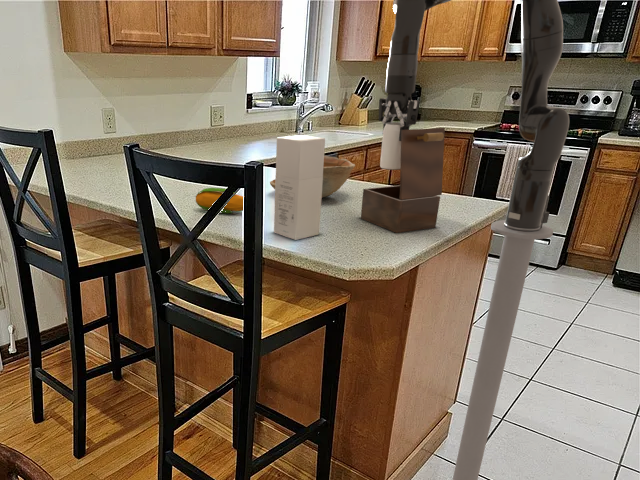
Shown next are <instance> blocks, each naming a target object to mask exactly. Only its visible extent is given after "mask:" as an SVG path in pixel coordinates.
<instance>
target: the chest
mask: <svg viewBox="0 0 640 480" xmlns="http://www.w3.org/2000/svg"><path fill="white" fill-rule="evenodd" d="M440 199H441V195H437V196H428V197H419V198H410V199H400V184H398V185H387V186H379V187H368V188H363V190H362V201H361V209H360V219H361V220H364V221H366V222H368V223H371V224H373V225H376V226H378V227H380V228H383V229H385V230H388V231H391V232H393V233H395V234H401V233H406V232H415V231H420V230H429V229H434V228H437V227H436V226H437V220H438V216H439V209H440V201H441V200H440Z"/></svg>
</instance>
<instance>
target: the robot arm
mask: <svg viewBox="0 0 640 480" xmlns="http://www.w3.org/2000/svg"><path fill="white" fill-rule="evenodd" d="M451 1H452V0H393V2H392V7H393V8H392V9H393V12H394V14H395V20H394V29H393V31H392V34H391V39H390V47H389V57H388V62H387V68H386V79H385V90H384V92H385V93H386V94H387V96H386V97H384V98H383V97H382V98H381V97H380V98H379V101H378V121H379V122H381V123H382V125H383V126H382V131H383V130H384V127H385V125H386V123H388V122H394V119H395V117H397V119H398V120H399V122H400V123H401V126H402V127H400V136H399V141H401V130H410V127H411V126H415V125H416V124H417V121H418V114H419V108H420V100H416V99H415V100H413V99H412V94H414V93H415V91H416V83H417V74H418V65H419V58H418V56H419V55H418V54H419V48H420V39H421V37H420V35H421V29H422V25H423V21H424V16H425V13H426V12H427V11H428V10H430V9H432V8H434V7H436V6H438V5H442V4H446V3H449V2H451ZM520 11H521V13H520V14H521V15H520V17H521V21H520V23H521V24H520V25H521V31H520V49H521V50H520V53H521V93H520V94H521V95H520V104H519V105H520V106H519V118H518V129H519V134H520V136H521V137H522V138H523V139H524V140H527V141H529V142H533V144H532V147H531V149H530V151H529V152H528V153H526V154H522V155H520V156H519V157H518V160H517V163H516V167H515V172H514V173H515V174H514V178H513V181H512V182H513V183H512V187H511V193H510V196H509V197H510V198H509V201H508V207H507V212H506V216H505V219H504V220H505V223H504V226H505V227H506V228H509V229H512V230H516V231H524V232H534V231H539V230H540V229H541V228H542V225H544V224H547V223H548V222H549V221H548V220H549V217H550V211H547V208H548V204H549V200H550V196H549V191H550V188H551V184H552V180H553V179H552V178H553V174H554V171H555V166H556V164H557V162H558V161H559V159H560V158H561V155H562V152H563V149H564V145H565V143H566V140H567V139H566V138H567V135H568V132H569V129H570V115H569V113H568V111H567V110H566V109H564V108H562V107H558V106H549V104H548V88H549V87H548V86H549V83H550V80H551V77H552V75H553V73H554V71H555V69H556V67H557V65H558V63H559V62H560V59H561V57H562V53H563V50H564V49H563V47H564V21H563V15H562V11H561V7H560V5H559V1H558V0H521V10H520Z"/></svg>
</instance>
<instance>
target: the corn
mask: <svg viewBox="0 0 640 480" xmlns="http://www.w3.org/2000/svg"><path fill="white" fill-rule="evenodd" d="M226 189H227V188H223V187H207V188H203V189H202V190H200V191H198V193H197V194H196V195H195V203H196V204H197V206H198V207H200V208H201V209H203V210H205V211H208V209H209V208H210V207H211V206H212V204H213V203H214V202H215V201H216V200H217V199H218V198H219V197H220V196H221V195H222V193H223V192H224V191H225V190H226ZM234 194H235V195H234V196H233V197H232V198H231V199H230V201H229V202H228V203H227V205H226V206H225V207H224V209H223V211H221V212H219V213H220V214H233V212H244V211H243V195H240V194H236V193H234ZM225 211H226V212H225Z"/></svg>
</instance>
